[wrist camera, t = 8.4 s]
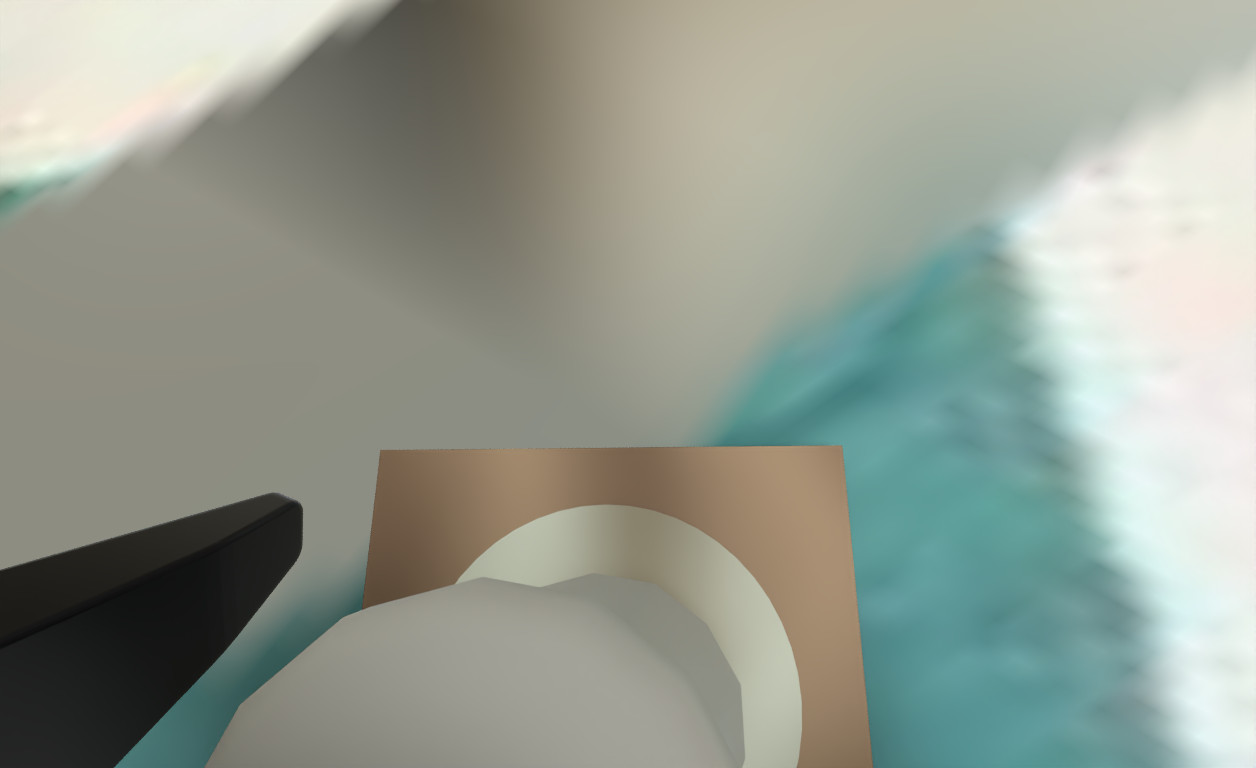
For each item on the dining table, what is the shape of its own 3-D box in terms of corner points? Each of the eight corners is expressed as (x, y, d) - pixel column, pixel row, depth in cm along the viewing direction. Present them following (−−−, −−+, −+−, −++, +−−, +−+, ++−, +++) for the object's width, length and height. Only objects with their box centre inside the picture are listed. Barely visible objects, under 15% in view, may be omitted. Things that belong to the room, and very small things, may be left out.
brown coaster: (339, 982, 16) (311, 1012, 15) (396, 460, 20) (377, 448, 19) (881, 997, 16) (900, 1030, 14) (832, 456, 20) (843, 443, 18)
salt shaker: (751, 608, 17) (959, 546, 5) (715, 887, 15) (901, 1904, 3) (512, 562, 18) (164, 405, 6) (451, 825, 16) (-266, 1458, 4)
